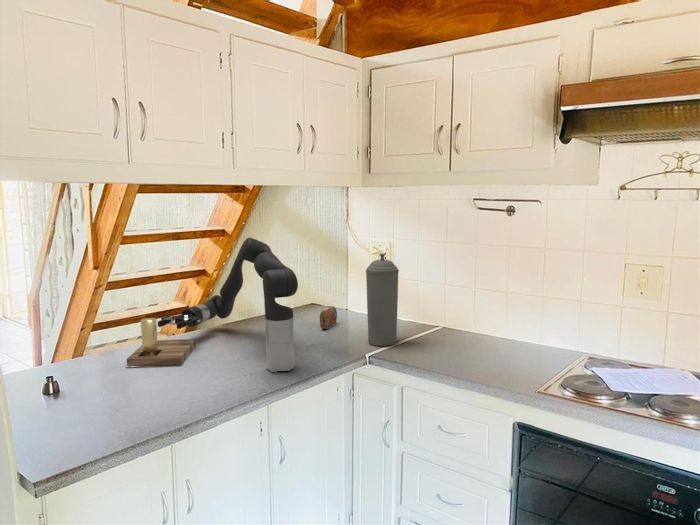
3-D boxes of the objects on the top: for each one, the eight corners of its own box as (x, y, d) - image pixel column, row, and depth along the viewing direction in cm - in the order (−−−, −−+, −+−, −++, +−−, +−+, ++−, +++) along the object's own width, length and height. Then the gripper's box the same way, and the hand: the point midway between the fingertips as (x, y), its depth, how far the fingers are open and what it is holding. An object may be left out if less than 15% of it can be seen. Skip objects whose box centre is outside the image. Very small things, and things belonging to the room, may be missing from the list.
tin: (325, 331, 215) (325, 312, 214) (318, 330, 216) (318, 311, 215) (337, 323, 230) (337, 304, 228) (331, 322, 231) (330, 304, 229)
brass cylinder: (156, 363, 176) (153, 321, 174) (141, 363, 176) (138, 321, 174) (160, 358, 181) (157, 317, 179) (145, 359, 181) (143, 318, 179)
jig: (181, 365, 173) (180, 357, 173) (127, 367, 172) (126, 359, 172) (195, 346, 195) (195, 339, 195) (147, 348, 194) (146, 340, 193)
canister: (369, 337, 205) (368, 251, 201) (400, 339, 203) (400, 251, 198) (363, 346, 193) (362, 255, 188) (396, 348, 190) (396, 255, 186)
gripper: (180, 304, 203) (151, 313, 188) (210, 307, 198) (183, 316, 183) (181, 323, 204) (152, 333, 189) (211, 326, 199) (184, 336, 184)
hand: (167, 325), depth 186 cm, fingers open, 8 cm apart
